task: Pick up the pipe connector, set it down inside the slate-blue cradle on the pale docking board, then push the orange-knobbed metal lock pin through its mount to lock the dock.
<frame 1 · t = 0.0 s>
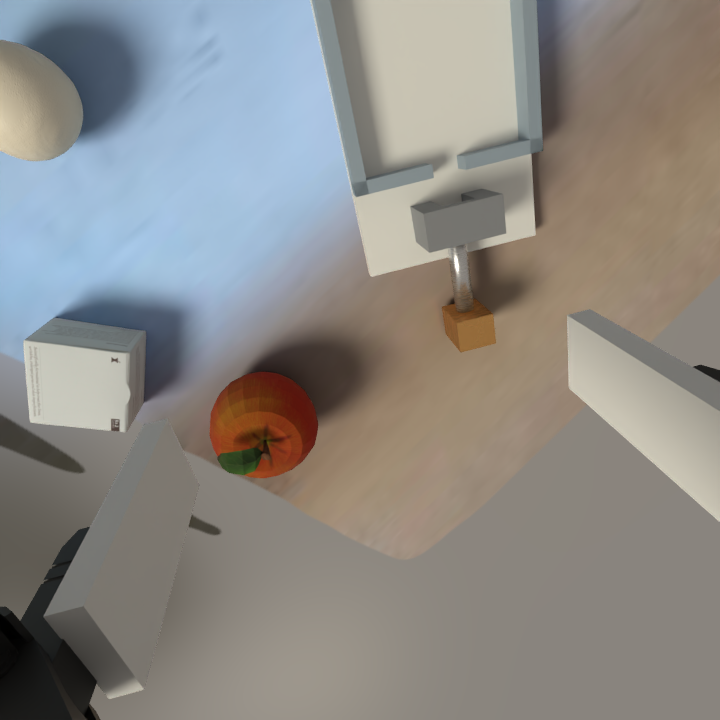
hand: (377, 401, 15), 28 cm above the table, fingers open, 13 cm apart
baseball: (43, 104, 34), on the table
dock: (431, 119, 38), on the table
lock pin: (462, 280, 41), point 3 cm above the table, slide at 0.0 cm
small box: (101, 361, 43), on the table
fruit: (267, 400, 46), on the table
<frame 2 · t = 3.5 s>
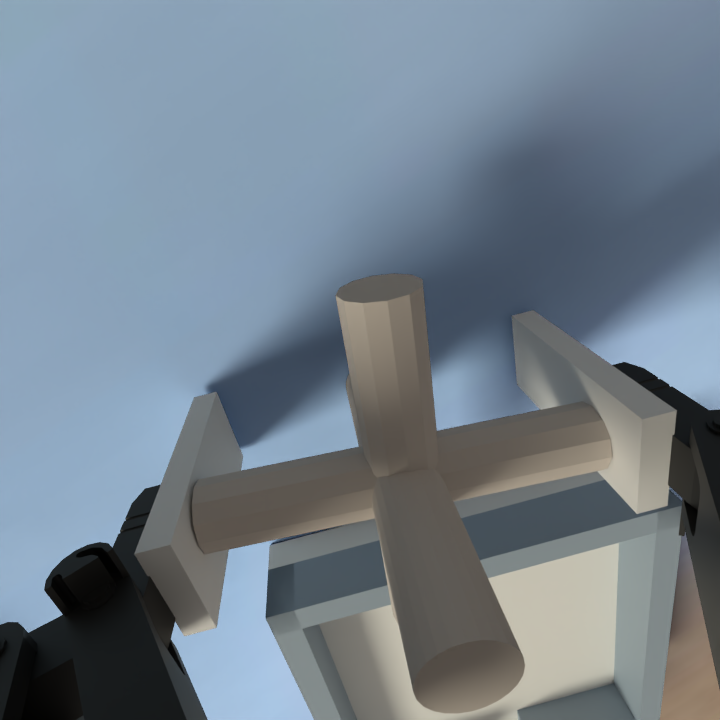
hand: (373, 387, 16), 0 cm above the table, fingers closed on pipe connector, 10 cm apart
dock: (478, 658, 24), on the table
pipe connector: (370, 380, 17), on the table, touching gripper
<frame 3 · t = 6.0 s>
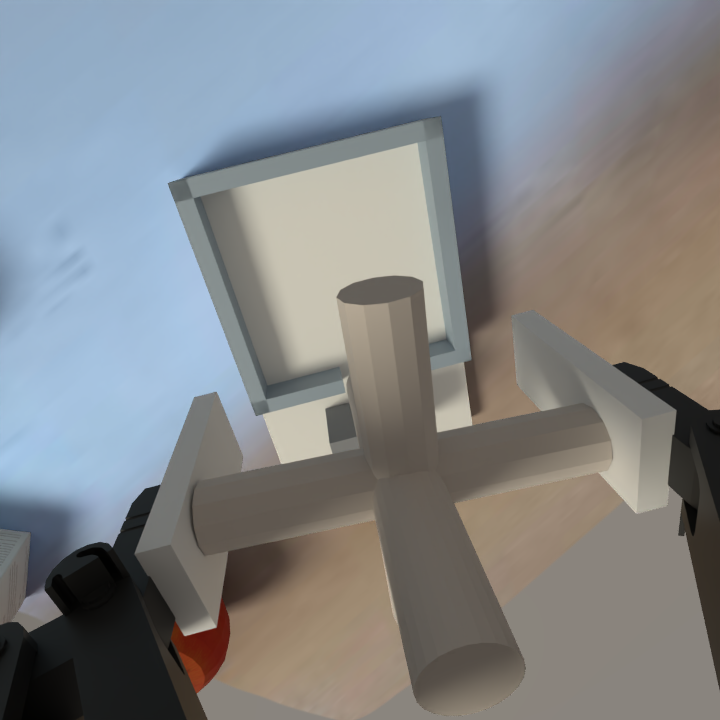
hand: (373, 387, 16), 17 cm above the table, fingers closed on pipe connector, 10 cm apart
dock: (345, 317, 33), on the table
pipe connector: (371, 382, 17), point 16 cm above the table, touching gripper
fruit: (181, 588, 42), on the table
when the fingers open (4 cm above the table, at t = 8.8 s): pipe connector drops 2 cm, resting on dock.
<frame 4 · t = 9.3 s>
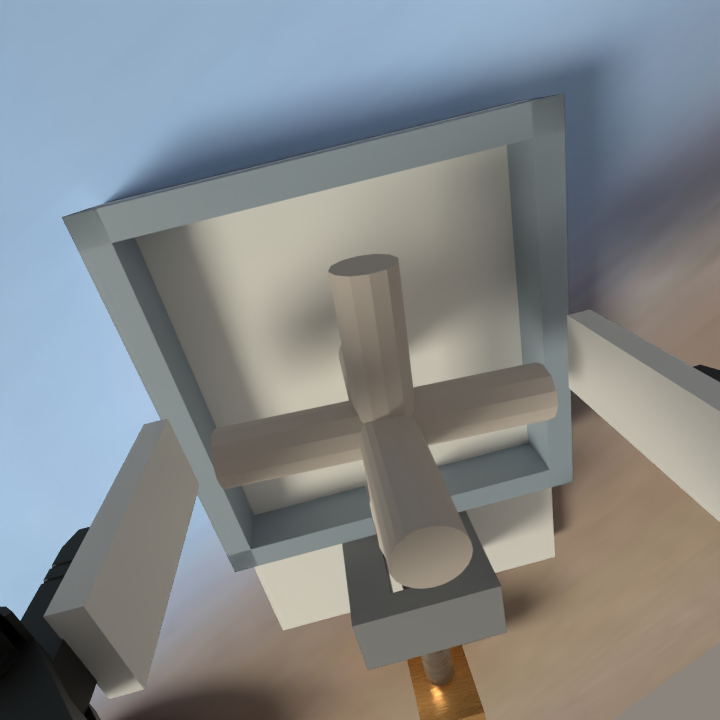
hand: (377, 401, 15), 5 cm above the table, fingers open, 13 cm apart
dock: (374, 411, 21), on the table
lock pin: (433, 644, 24), point 3 cm above the table, slide at 0.0 cm
pipe connector: (360, 351, 19), point 1 cm above the table, touching dock
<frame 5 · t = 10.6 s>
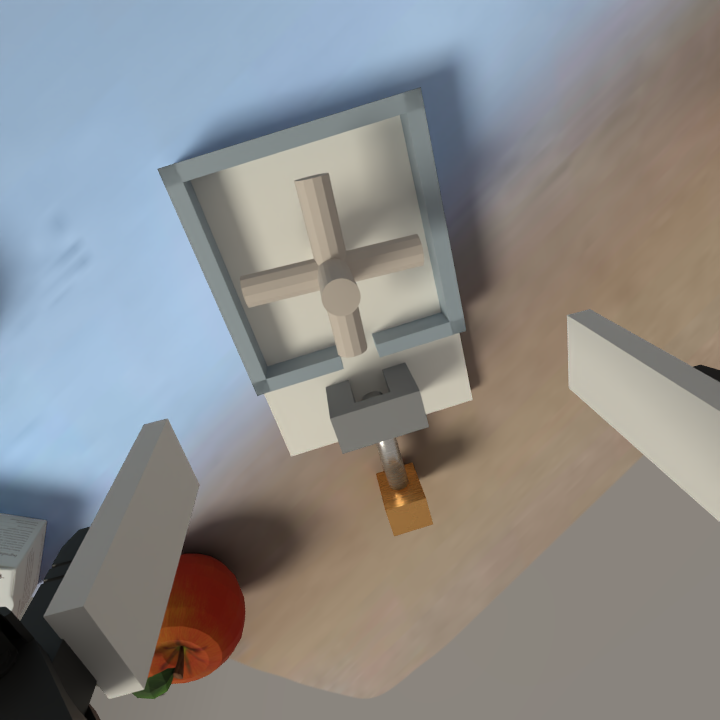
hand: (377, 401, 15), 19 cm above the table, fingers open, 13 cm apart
dock: (340, 295, 33), on the table
lock pin: (391, 458, 36), point 3 cm above the table, slide at 0.0 cm
pipe connector: (326, 251, 31), point 1 cm above the table, touching dock
fruit: (196, 571, 43), on the table
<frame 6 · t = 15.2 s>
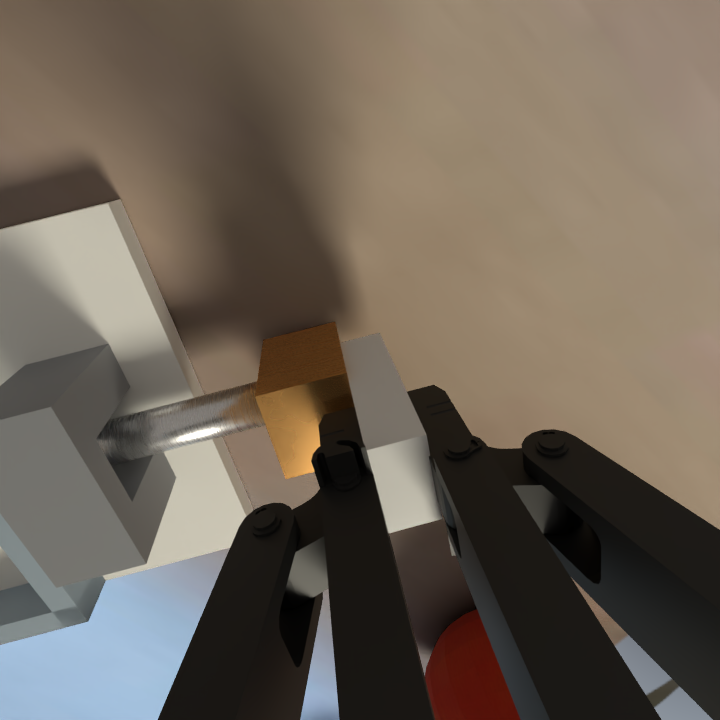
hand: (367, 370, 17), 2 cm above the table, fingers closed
lock pin: (196, 424, 16), point 3 cm above the table, slide at 1.5 cm, touching gripper
fruit: (484, 625, 28), on the table
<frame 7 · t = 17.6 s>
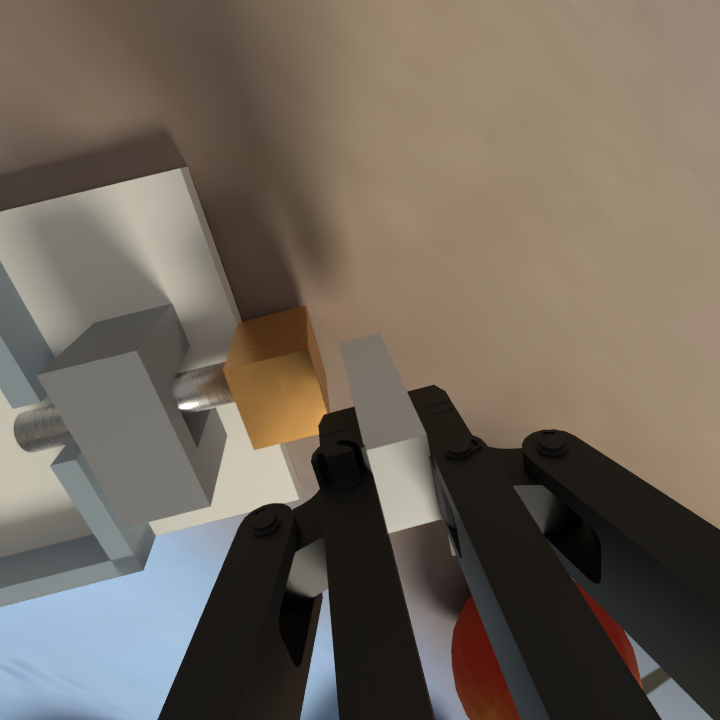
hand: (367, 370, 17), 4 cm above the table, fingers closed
dock: (1, 412, 20), on the table
lock pin: (172, 399, 18), point 3 cm above the table, slide at 4.6 cm, touching dock
fruit: (508, 592, 29), on the table
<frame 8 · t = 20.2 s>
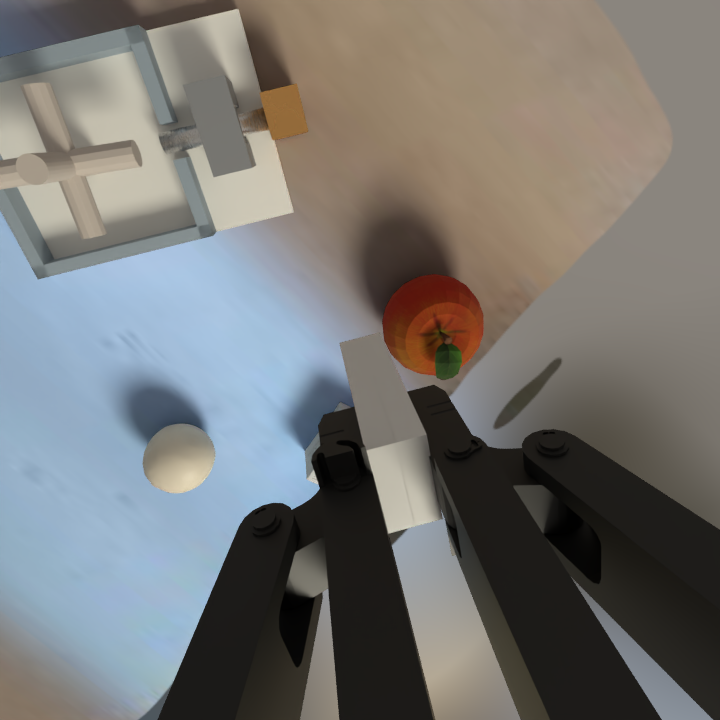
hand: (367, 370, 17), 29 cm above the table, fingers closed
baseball: (185, 439, 51), on the table
dock: (140, 151, 39), on the table
lock pin: (232, 126, 37), point 3 cm above the table, slide at 4.6 cm, touching dock
pipe connector: (94, 162, 38), point 1 cm above the table, touching dock
small box: (349, 438, 54), on the table
fruit: (421, 309, 49), on the table
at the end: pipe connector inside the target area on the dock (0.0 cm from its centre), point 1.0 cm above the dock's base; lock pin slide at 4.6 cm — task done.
